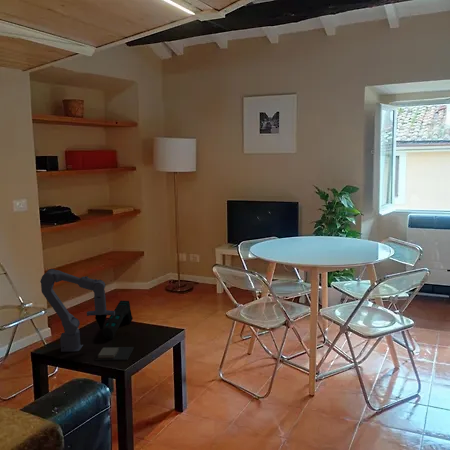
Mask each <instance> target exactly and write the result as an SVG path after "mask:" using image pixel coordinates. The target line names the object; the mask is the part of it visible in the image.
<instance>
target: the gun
mask: <svg viewBox="0 0 450 450" xmlns="http://www.w3.org/2000/svg"><path fill="white" fill-rule="evenodd" d="M130 303H131V302H130V300H119V302H118V303H117V305H116V306H115V309H114V310H113V311H115V315H114V316H112V315H109V317H108V319H107V320H106V321H105V323H104V328H103V329H102V335H103V336H104V338H105V339H106V340H113V339H114V336H115V335H116V333H117V331H118V330H119V328H120V326H121V325H131V323H132V321H133V315H132V311H131V310H132V309H131V305H130Z"/></svg>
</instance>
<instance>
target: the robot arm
mask: <svg viewBox="0 0 450 450" xmlns="http://www.w3.org/2000/svg"><path fill="white" fill-rule="evenodd" d="M62 281H64V282H68V283H72V284H76V285H78V287H79V288H81V289H85V290H87V291H88V290H89V291H93V299H94V310H89V311H87V312H86V317H90V316H95V317H94V319H95V321H96V322H97V324H98V327H99V329H100V330H103V328H104V326H105V323H106V319H107V316H111V315H112V316H114V315H115V311H114V310H109V309H107V302H106V301H107V298H106V290H105V289H106V283H105V281H104V280H102V279H96V278H95V279H93V278H90V277H88V276H86V275H85V276H81V277H78V276H75V275H73V274H69V273H66V272H63V271H62V270H59V269H54V268H50V269H48V270H47V271H46V272H45V273H43V275H42V276H41V278H40V288H41V293H42V295H43V296H44V298H45V299H46V300H47V302H48V303H49V305H50V306H51V308H52V309H53V310H54V312H55V314H57V316H58V318H60V321H61V325H62V327H63V330H64V332H61V335H60V352H61V353H62V352H68V353H69V352H70V353H71V352H74V353H76V352H79V351H80V350H81V349H82V347H83V346H84V344H81V335H80V333H81V332H80V329H79V327H80V325H81V324H80V320H79V319H78V318H76V317H75V316H74V314H71V313H70V312H69V310H68V309H67V307H66V306H65V304H64V303H63V301H62V300H61V299H60V297H59V296H58V295H57V293H56V292H55V290H54V285H55V283H59V282H62Z"/></svg>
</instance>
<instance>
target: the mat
mask: <svg viewBox="0 0 450 450" xmlns="http://www.w3.org/2000/svg"><path fill="white" fill-rule="evenodd" d="M103 348H118V349H119V351H118V352H117V354H116V356H115V357H114V358H98V355H97V356H96V358H95V361H97V362H98V361H101V362H103V361H106V362H107V361H110V362H111V361H128V360H129V358H130V356H131V354H132V352H133V351H134V348H135V347H134V346H104V347H103Z"/></svg>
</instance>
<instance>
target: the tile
mask: <svg viewBox="0 0 450 450" xmlns="http://www.w3.org/2000/svg"><path fill="white" fill-rule="evenodd" d="M118 351H119V349H118V348H104V347H102V348H101V350H100V352H99V353H98V354H97V356H98V358H114V357H115V356H116V354H117V352H118Z"/></svg>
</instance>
